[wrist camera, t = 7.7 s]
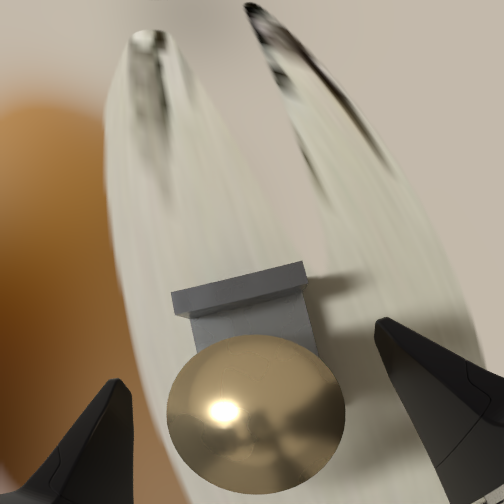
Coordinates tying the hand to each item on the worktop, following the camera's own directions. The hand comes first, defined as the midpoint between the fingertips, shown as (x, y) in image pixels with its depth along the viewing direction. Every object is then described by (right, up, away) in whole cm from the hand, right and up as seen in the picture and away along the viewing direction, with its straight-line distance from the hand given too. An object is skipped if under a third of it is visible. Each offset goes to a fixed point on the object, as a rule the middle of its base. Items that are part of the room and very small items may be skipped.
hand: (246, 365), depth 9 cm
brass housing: (+1, -4, +7) cm, 8 cm away
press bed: (+1, -3, +9) cm, 10 cm away
